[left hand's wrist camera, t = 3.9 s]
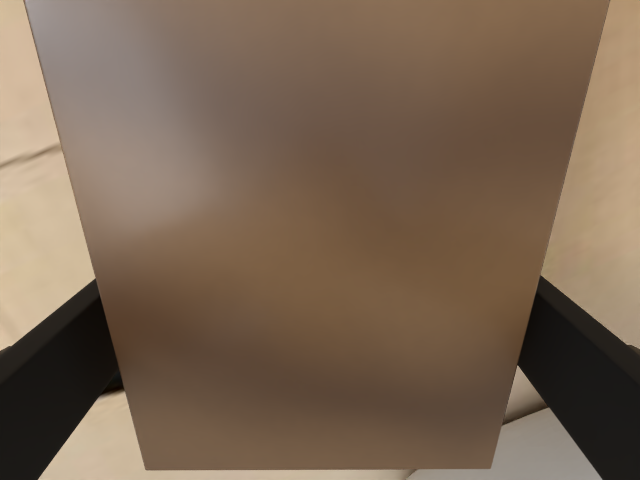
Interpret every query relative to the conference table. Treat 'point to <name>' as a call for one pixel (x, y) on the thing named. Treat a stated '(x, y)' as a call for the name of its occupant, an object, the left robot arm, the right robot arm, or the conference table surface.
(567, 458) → the projector
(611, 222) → the conference table surface
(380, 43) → the cabinet
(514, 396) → the conference table surface
